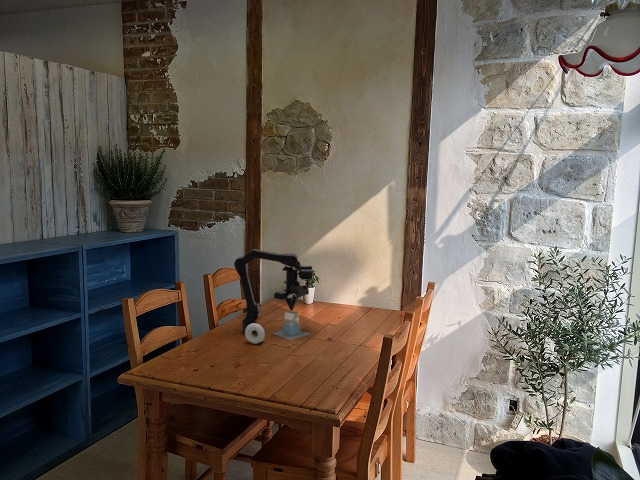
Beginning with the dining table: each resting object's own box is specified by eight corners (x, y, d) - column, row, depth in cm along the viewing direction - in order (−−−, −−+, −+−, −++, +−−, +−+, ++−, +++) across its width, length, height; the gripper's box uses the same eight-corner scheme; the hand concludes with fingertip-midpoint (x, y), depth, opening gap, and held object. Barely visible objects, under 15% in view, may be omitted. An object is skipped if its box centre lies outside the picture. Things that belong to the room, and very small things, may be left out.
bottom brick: (291, 336, 258) (291, 326, 257) (283, 333, 262) (283, 323, 261) (300, 333, 262) (300, 324, 261) (292, 331, 266) (292, 321, 265)
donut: (243, 343, 249) (243, 323, 248) (246, 341, 252) (246, 321, 251) (263, 345, 246) (263, 325, 245) (266, 343, 249) (266, 323, 248)
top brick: (291, 326, 258) (291, 314, 257) (284, 323, 261) (284, 312, 260) (298, 324, 261) (298, 312, 260) (292, 321, 265) (292, 310, 264)
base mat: (290, 342, 252) (290, 340, 252) (271, 335, 262) (271, 333, 262) (311, 335, 262) (311, 333, 262) (292, 329, 272) (292, 327, 272)
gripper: (288, 284, 247) (288, 316, 249) (316, 279, 260) (316, 310, 262) (273, 281, 254) (273, 312, 256) (301, 275, 268) (300, 305, 270)
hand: (291, 310), depth 261 cm, fingers closed
